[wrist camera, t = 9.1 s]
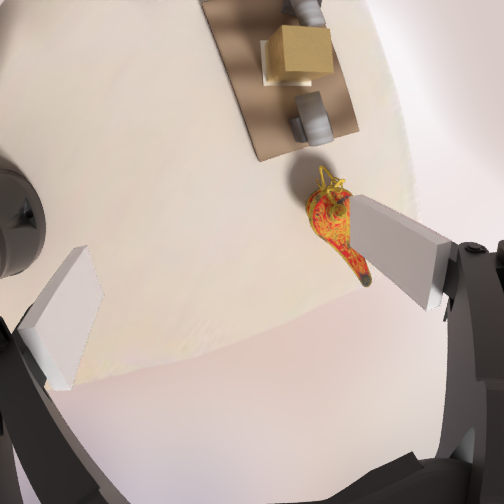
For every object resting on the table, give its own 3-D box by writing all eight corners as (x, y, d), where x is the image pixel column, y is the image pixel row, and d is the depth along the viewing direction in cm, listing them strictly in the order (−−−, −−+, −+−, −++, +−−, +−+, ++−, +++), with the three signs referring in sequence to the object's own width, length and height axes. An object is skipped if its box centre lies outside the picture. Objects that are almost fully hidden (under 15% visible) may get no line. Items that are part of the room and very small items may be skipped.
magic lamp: (329, 277, 46) (362, 317, 36) (278, 171, 39) (307, 187, 29) (366, 255, 46) (406, 288, 36) (323, 147, 39) (365, 156, 29)
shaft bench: (202, 6, 29) (203, -13, 23) (304, -14, 29) (320, -31, 24) (258, 160, 38) (269, 166, 33) (355, 130, 38) (378, 133, 33)
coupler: (267, 82, 33) (285, 71, 26) (264, 44, 31) (281, 25, 24) (307, 82, 34) (333, 73, 26) (304, 45, 32) (329, 28, 24)
